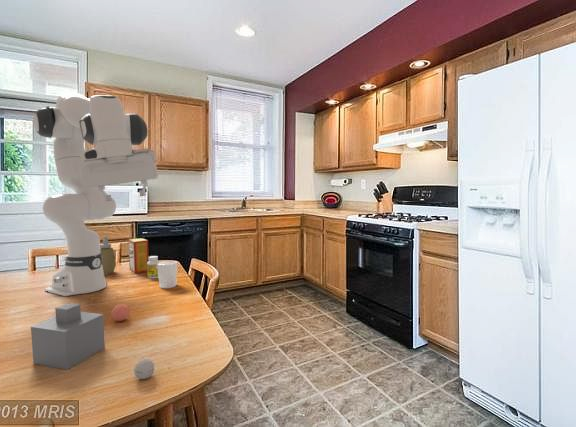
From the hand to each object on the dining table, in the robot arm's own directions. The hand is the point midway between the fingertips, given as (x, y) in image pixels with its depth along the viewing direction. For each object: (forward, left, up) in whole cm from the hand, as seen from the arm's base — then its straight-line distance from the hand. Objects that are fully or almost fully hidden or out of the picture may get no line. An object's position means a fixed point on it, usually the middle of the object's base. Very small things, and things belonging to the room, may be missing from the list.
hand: (126, 198), depth 93 cm
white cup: (-12, +34, -38) cm, 52 cm away
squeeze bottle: (-54, +44, -38) cm, 79 cm away
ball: (-4, 0, -35) cm, 36 cm away
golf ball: (+24, -23, -38) cm, 51 cm away
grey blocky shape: (0, -20, -38) cm, 43 cm away
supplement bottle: (-27, +44, -38) cm, 64 cm away
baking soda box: (-42, +52, -38) cm, 77 cm away
